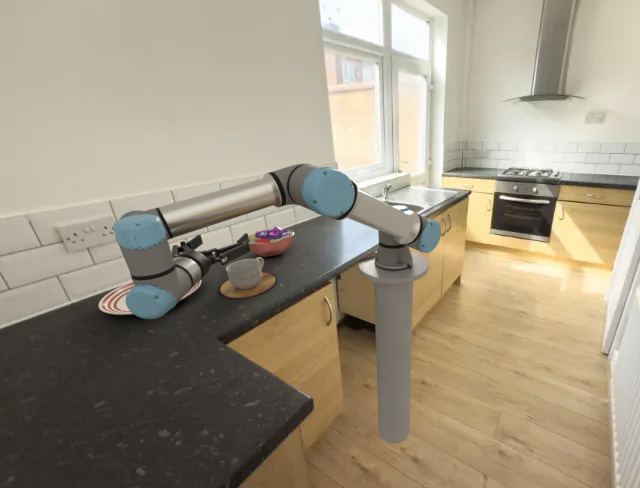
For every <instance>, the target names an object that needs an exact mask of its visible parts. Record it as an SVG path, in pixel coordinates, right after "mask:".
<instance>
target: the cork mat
mask: <svg viewBox="0 0 640 488" xmlns="http://www.w3.org/2000/svg"><path fill="white" fill-rule="evenodd" d="M275 284H276V277H275V276H274V275H273V274H271V273H269V272H263V271H262V279H261V281H260V282H259V283H258V284H257V285H256V286H254V287H252V288H249V289H239V288H236V287H234V286H233V285H232V284H231V282H230V280H229V279H228V280H226V281H225V282H223V283H222V284H221V286H220V287H219V288H220V289H219V290H220V291H219V292H220V293H221V295H222V296H224V297H226V298H229V299H230V298H231V299H244V298H251V297H256V296H259V295H260V294H264V293H265V292H267V291H268V290H270V289H271V288H273V287H274V286H275Z"/></svg>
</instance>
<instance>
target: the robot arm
mask: <svg viewBox="0 0 640 488" xmlns="http://www.w3.org/2000/svg"><path fill="white" fill-rule="evenodd" d="M291 205H293V206H294V205H295V206H300V207H302V208H304V209H307V210H309V211H312V212H314V213H315V214H317V215H319V216H322V217H328V218H330V219H333V220H335V221H342V220H345V219H349V220H351V221H352V222H353V221H354V222H356V223H358V224H360V225H364V226H367V227H369V228H371V229H375V230H377V233H378V235H377V236H378V247H377V250H376V251H377V253H376V252H375V255H374V256H375V265H376V267H378V268H380V269H382V270H386V271H401V270H405V269H407V268H409V269H411V268H412V267H411V266H412V263H413V258H412V255H411V252H410V251H411V250H410V249H413V250H416V251H419V252H420V253H424V254H429V253H432V252H433V251H434V250H435V249H436V248H437V246H438V245H439V243H440V240H441V237H442V226H441V223H439V221H437V220H435V219H433V218H432V219H431V218H428V217H426V216H423V215H421V214H420V213H417V212H415V211H413V210H410V208H409V206H407V205H390V204H389V203H387V202H385V201H383V200H381V199H379V198H376V197H374V196H373V195H370V194H368V193H366V192H364V191H362V190H360V189H359V188H358V184H357V183H356V181H355V180H352V179H350V178H349V176H348V175H347V174H346V173H344V172H343V171H341V170H339V169H337V168H334V167H330V166H322V165H316V164H311V163H305V162H304V163H296V164H293V165H289V166H285V167H283V168H279V169H276V170H273V171H269V172H265V173H264V174H263V176H262V178H258V179H255V180H252V181H248V182H244V183H241V184H236V185H233V186H230V187H226V188H222V189H219V190H216V191H215V190H214V191H213V192H208V193H205V194H202V195H197V196H194V197H190V198H186V199H183V200H179V201H175V202H171V203H169V204H164V205H162V206H161V205H160V206H158V207H155V208H150V209H147V210H141V209H140V210H138V209H134V210H129V211H127V212H124V213H123V214H122V215H120V217H119V219H118V220H117V221H115V222H114V223H113V225H112V229H113V232H114V237H115V240H116V241H115V242H116V243H117V244H118V247H119V250H120V251H121V254H122V257H123V259H124V261H125V264H126V266H127V268H128V271H129V273H130V274H129V275H130V277H131V280H132V281H131V282H133V283H134V287H133V288H131V290H130V291H129V292H128V293H127V295H126V300H125V302H126V306H127V307H128V309H129V310H130V311H131V312H132V313H133V315H135V316H136V317H138V318H141V319H145V320H156V319H159V318H161V317H163V316H164V315H166V314H167V313H168V312H169V311H170V310H172V309H174V308H175V307H176V305H177V304H178V303H179V302H180V300H181V298H182V297H183V296H184V295H185V294H186V293H188V292H189V291H190V290H191V288H192V287H193V286H195V285H196V284H197V283H198V282H199V281H200V280H201V281H202V280H203V278H205V276H206V275H208V273H209V271H210V268H211V266H213V265H215V264H217V263H220V265H221V266H226V265H227V264H228V263H229V262H231V261H233V260H235V259H238V258H240V257H242V256H244V255H246V254H248V253H250V252H251V250H250V246H249V237H248V236H249V233H247V232H246V233H245V232H244V234H243V235H242V236H241V237H239V238H238V239H237V240H236V242H235V243H232V244H229V245H226V246H223V247H220V248H217V247H214V248H211V249H207V250H206V249H205V250H197V249H198V248H199V247H201V246H202V245H203V243H204V241H203V238H202V234H197V235H196V236H194V237H193V238H192V239H190V240H189V241H187V242H186V241H185V240H183V241H180V242H179V244H180V245H178V244H174V245H172V248H171V246H170V242H169V240H172V239H174V238H177V237H180V236H184V235H186V234H187V235H188V234H190V233H192V232H196V231H198V230H202V229H205V228H208V227H212V226H214V225H217V224H221V223H225V222H227V221H230V220H233V219H235V218H239V217H242V216H245V215H248V214H251V213H254V212H257V211H261V210H263V209H266V208H269V207H272V206H274V207H275V208H281V207H285V206H291ZM181 301H182V300H181Z"/></svg>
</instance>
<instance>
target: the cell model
mask: <svg viewBox="0 0 640 488" xmlns="http://www.w3.org/2000/svg"><path fill="white" fill-rule="evenodd" d="M294 236H295V232H294V231H293V230H289V229H284V228H283V229H282V228H281V227H279V226H274V227H273V228H271V229H263V230H258V231H256V232H254V233H251V234H250V235H248V237H249V246H250V252H252V253H253V254H254V255H257V256H259V257H261V258H269V257H275V256H280V255H282V254H283V253H284V252H285V251H287V250H288V249H289V247H290V246H291V244H292V242H293V239H294Z"/></svg>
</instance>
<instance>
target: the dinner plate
mask: <svg viewBox="0 0 640 488" xmlns="http://www.w3.org/2000/svg"><path fill="white" fill-rule="evenodd" d="M201 284H202V279H201V280H200V281H199V282H198V283H197V284H196V285H195V286H193V287H192V288H191V290H190V291H189V292H188V293H186V294H185V295H184V296H183V297H182V298H181V300H180V301H183V300H184V299H186V298H188V297H189V296H191V295H192V294H193V293H194V292H196V291H197V290H198V289H199V288H200V286H201ZM133 287H134V283H133V281H130V282H128V283H125V284H123V285H121V286H118V287H117V288H115V289H113V290H111V291H110V292H108V293H107V294H105V295H104V296H103V297H102V298H101V299H100V301H99V302H98V309H99V311H101V312H103V313H105V314H109V315H115V316H132V315H134V314H133V313H132V312H131V311H130V310H129V309H128V307H127V306H126V302H125V300H126V295H127V293H128V292H129V291H130V290H131V288H133ZM180 301H179V302H180Z"/></svg>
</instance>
